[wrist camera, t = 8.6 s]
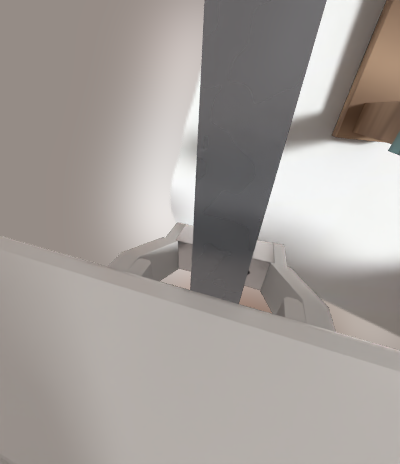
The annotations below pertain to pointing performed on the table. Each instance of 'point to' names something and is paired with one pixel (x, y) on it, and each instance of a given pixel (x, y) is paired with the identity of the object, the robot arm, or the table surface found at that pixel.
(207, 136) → the rail
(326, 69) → the table surface
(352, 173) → the table surface
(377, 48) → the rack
